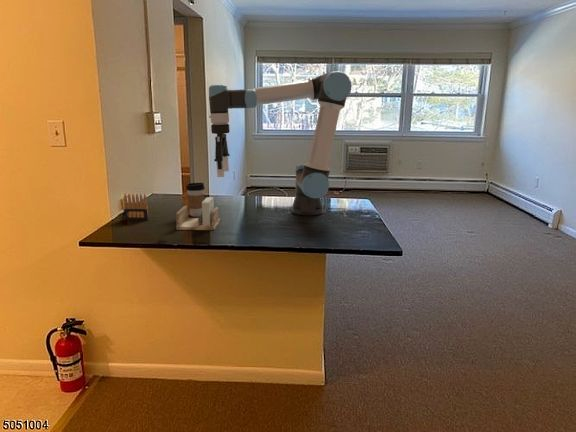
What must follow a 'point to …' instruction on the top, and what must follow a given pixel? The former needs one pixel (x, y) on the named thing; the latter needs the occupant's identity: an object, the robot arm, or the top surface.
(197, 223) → the wooden shelf with pegs
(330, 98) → the robot arm
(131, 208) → the ammunition clip
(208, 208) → the beige rectangular block
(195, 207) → the coffee cup
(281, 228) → the top surface
